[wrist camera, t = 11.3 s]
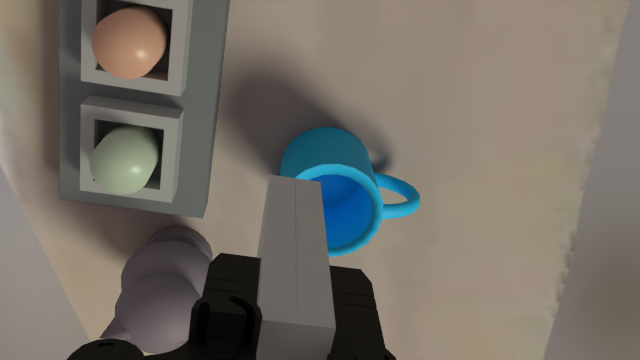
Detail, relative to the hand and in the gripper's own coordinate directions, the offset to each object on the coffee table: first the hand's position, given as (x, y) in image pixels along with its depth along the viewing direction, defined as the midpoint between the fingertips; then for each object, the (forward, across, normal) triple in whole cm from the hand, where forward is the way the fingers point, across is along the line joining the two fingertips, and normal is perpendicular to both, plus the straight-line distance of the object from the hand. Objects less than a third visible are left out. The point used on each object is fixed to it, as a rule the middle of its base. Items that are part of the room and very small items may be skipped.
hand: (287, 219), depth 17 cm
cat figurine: (+33, -7, -23) cm, 41 cm away
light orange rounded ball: (+29, -11, -2) cm, 31 cm away
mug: (+33, +7, -12) cm, 36 cm away
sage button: (+29, -11, -11) cm, 33 cm away
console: (+32, -11, -2) cm, 34 cm away
